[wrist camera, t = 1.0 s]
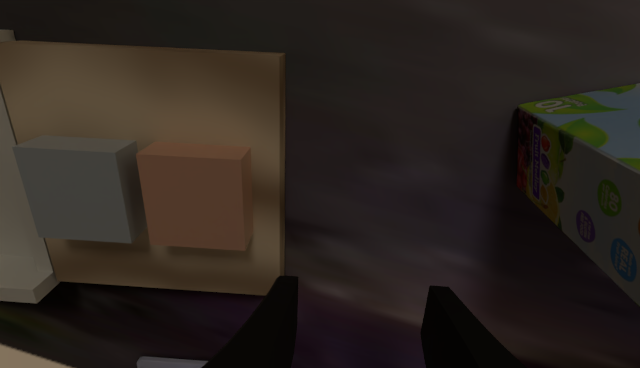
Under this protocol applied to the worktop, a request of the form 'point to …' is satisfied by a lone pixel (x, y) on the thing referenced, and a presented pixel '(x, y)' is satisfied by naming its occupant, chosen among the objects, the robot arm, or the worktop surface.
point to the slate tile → (83, 188)
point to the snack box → (588, 174)
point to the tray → (19, 224)
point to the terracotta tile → (197, 195)
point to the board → (160, 126)
